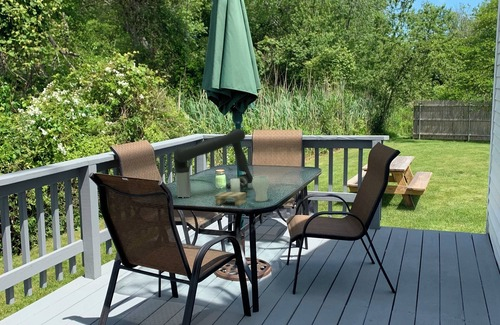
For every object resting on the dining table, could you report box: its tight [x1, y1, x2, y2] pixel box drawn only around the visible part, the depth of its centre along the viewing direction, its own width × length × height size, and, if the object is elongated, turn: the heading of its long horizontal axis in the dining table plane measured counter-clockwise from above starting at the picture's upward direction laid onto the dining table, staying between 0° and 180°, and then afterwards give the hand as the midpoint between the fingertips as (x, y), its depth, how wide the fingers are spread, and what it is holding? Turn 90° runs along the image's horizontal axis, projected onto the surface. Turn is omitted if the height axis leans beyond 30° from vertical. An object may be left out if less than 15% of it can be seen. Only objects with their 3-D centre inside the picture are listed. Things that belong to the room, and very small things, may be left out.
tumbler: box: [230, 177, 241, 201], centre depth 330 cm, size 6×6×13 cm
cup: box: [251, 175, 270, 202], centre depth 321 cm, size 11×11×15 cm
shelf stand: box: [214, 191, 247, 207], centre depth 317 cm, size 16×12×6 cm
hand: (234, 187), depth 328 cm, fingers open, 8 cm apart
